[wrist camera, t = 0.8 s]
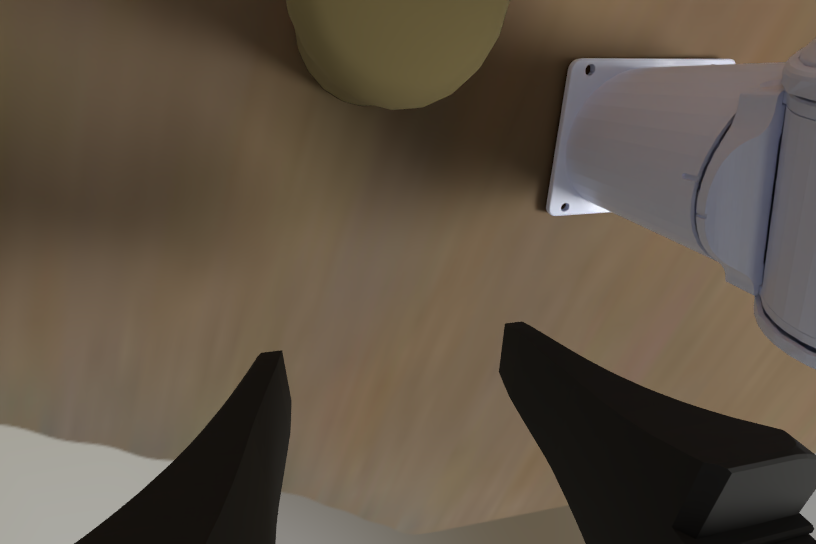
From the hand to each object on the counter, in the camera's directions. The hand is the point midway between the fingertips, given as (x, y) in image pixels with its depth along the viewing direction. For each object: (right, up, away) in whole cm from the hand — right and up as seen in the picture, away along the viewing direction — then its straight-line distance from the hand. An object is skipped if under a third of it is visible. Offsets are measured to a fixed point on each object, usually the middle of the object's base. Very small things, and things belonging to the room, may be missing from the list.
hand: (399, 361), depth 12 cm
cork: (-2, +14, +5) cm, 15 cm away
